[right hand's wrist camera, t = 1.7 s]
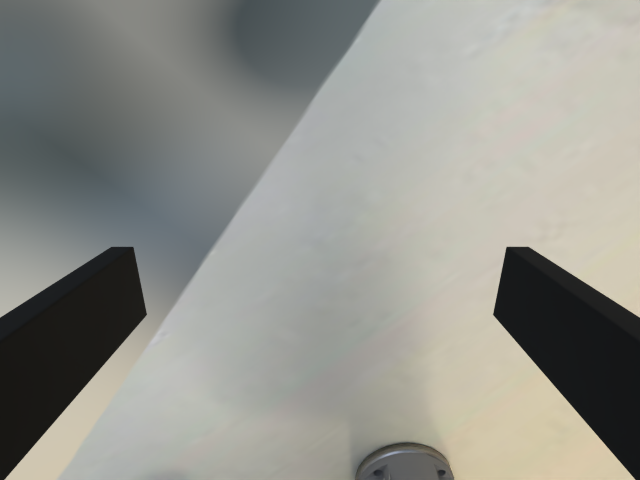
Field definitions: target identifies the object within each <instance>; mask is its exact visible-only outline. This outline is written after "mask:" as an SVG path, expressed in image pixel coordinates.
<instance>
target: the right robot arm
mask: <svg viewBox="0 0 640 480" xmlns="http://www.w3.org/2000/svg"><path fill="white" fill-rule="evenodd" d="M146 315H147V313H146V308H145V303H144V298H143V293H142V288H141V283H140V278H139V273H138V268H137V263H136V258H135V253H134V248H133V247H111V248H109V249H107V250H106V251H104V252H103V253H101V254H100V255H98V256H96V257H95V258H93V259H92V260H90V261H89V262H87V263H85V264H84V265H82V266H81V267H79V268H78V269H76V270H74V271H73V272H71V273H70V274H68V275H67V276H65V277H63V278H62V279H60V280H59V281H57V282H56V283H54V284H52V285H51V286H49V287H48V288H46V289H45V290H43V291H41V292H40V293H38V294H37V295H35V296H34V297H32V298H31V299H29V300H27V301H26V302H24V303H23V304H21V305H20V306H18V307H16V308H15V309H13V310H12V311H10V312H8V313H7V314H5V315H4V316H2V317H1V318H0V480H4V479H5V478H6V477H7V476H8V475H9V474H10V473H11V471H12V470H13V469H14V468H15V467H16V466H17V464H18V463H19V462H20V461H21V460H22V459H23V458H24V456H25V455H26V454H27V453H28V452H29V451H30V449H31V448H32V447H33V446H34V445H35V443H36V442H37V441H38V440H39V439H40V438H41V437H42V435H43V434H44V433H45V432H46V431H47V430H48V428H49V427H50V426H51V425H52V424H53V423H54V422H55V420H56V419H57V418H58V417H59V416H60V415H61V414H62V412H63V411H64V410H65V409H66V408H67V406H68V405H69V404H70V403H71V402H72V401H73V400H74V398H75V397H76V396H77V395H78V394H79V393H80V392H81V390H82V389H83V388H84V387H85V386H86V385H87V383H88V382H89V381H90V380H91V379H92V378H93V376H94V375H95V374H96V373H97V372H98V371H99V370H100V368H101V367H102V366H103V365H104V364H105V362H106V361H107V360H108V359H109V358H110V357H111V356H112V354H113V353H114V352H115V351H116V350H117V349H118V348H119V346H120V345H121V344H122V343H123V342H124V341H125V339H126V338H127V337H128V336H129V335H130V334H131V332H132V331H133V330H134V329H135V328H136V327H137V326H138V324H139V323H140V322H141V321H142V320H143V319H144V317H145V316H146ZM493 315H494V316H495V317H496V319H497V320H498V321H499V322H500V323H501V324H502V326H503V327H504V328H505V329H506V330H507V331H508V332H509V334H510V335H511V336H512V337H513V338H514V339H515V341H516V342H517V343H518V344H519V345H520V346H521V348H522V349H523V350H524V351H525V352H526V353H527V354H528V356H529V357H530V358H531V359H532V360H533V361H534V363H535V364H536V365H537V366H538V367H539V368H540V370H541V371H542V372H543V373H544V374H545V375H546V376H547V378H548V379H549V380H550V381H551V382H552V383H553V385H554V386H555V387H556V388H557V389H558V390H559V392H560V393H561V394H562V395H563V396H564V397H565V398H566V400H567V401H568V402H569V403H570V404H571V405H572V407H573V408H574V409H575V410H576V411H577V412H578V414H579V415H580V416H581V417H582V418H583V419H584V420H585V422H586V423H587V424H588V425H589V426H590V427H591V429H592V430H593V431H594V432H595V433H596V434H597V436H598V437H599V438H600V439H601V440H602V441H603V442H604V444H605V445H606V446H607V447H608V448H609V449H610V451H611V452H612V453H613V454H614V455H615V456H616V458H617V459H618V460H619V461H620V462H621V463H622V464H623V466H624V467H625V468H626V469H627V470H628V471H629V473H630V474H631V475H632V476H633V477H634V478H635V480H640V318H639V317H638V316H636V315H635V314H633V313H632V312H630V311H628V310H627V309H625V308H624V307H622V306H621V305H619V304H617V303H616V302H614V301H613V300H611V299H610V298H608V297H606V296H605V295H603V294H602V293H600V292H599V291H597V290H595V289H594V288H592V287H591V286H589V285H588V284H586V283H584V282H583V281H581V280H580V279H578V278H577V277H575V276H573V275H572V274H570V273H569V272H567V271H566V270H564V269H562V268H561V267H559V266H558V265H556V264H555V263H553V262H551V261H550V260H548V259H547V258H545V257H544V256H542V255H540V254H539V253H537V252H536V251H534V250H533V249H531V248H529V247H507V248H506V253H505V258H504V263H503V268H502V273H501V278H500V283H499V288H498V293H497V298H496V303H495V308H494V313H493ZM356 480H454V477H453V474H452V471H451V468H450V466H449V463H448V462H447V460H446V459H445V458H444V457H443V456H442V455H441V454H440V453H439V452H437V451H436V450H434V449H432V448H429V447H427V446H423V445H419V444H396V445H391V446H387V447H384V448H382V449H379V450H377V451H376V452H374V453H372V454H371V455H369V456H368V457H367V458H366V459H365V460H364V461H363V462H362V463H361V465H360V466H359V468H358V471H357V474H356Z"/></svg>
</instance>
